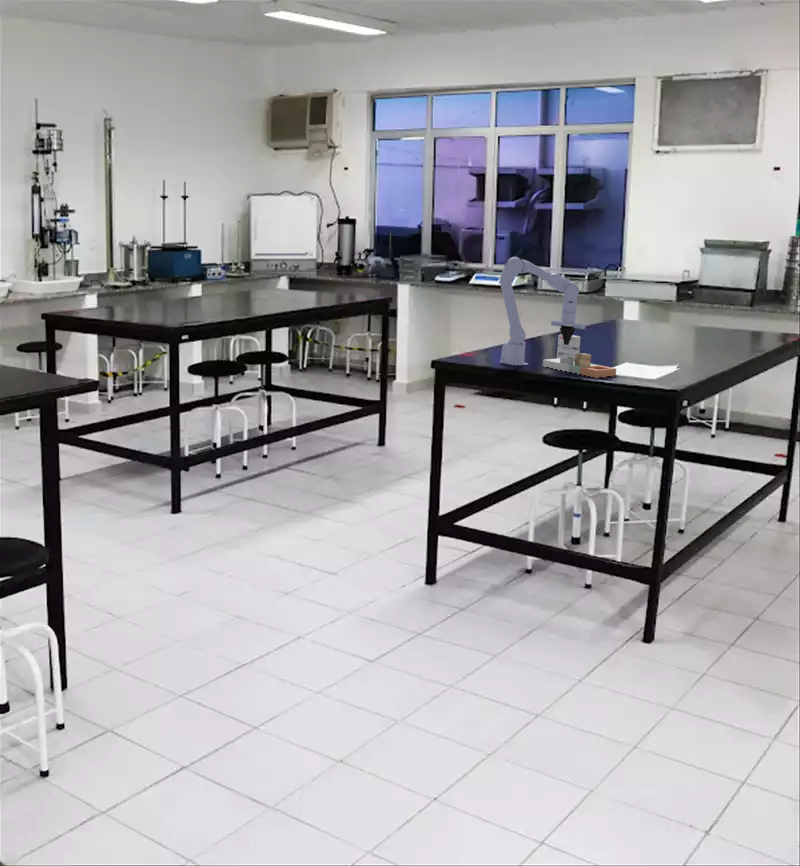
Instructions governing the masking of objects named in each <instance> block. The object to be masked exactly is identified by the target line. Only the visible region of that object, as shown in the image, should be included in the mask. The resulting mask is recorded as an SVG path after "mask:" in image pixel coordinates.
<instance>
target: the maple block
mask: <svg viewBox="0 0 800 866" xmlns="http://www.w3.org/2000/svg"><path fill="white" fill-rule="evenodd" d="M591 361H592V354H589V353H585V352H584V353H583V352H582V353H581V352H579V353H575V363H574V365H578V366H590V363H591ZM591 364H592V363H591Z"/></svg>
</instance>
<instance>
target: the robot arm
mask: <svg viewBox="0 0 800 866" xmlns="http://www.w3.org/2000/svg"><path fill="white" fill-rule="evenodd" d="M521 272H522V273H531V274H533V275H535V276H537V277H539V278H541V279H543V280H545V281H546V284H547V285H548V286H549V287H551V288H553V289H554V290H556V291H558V292H560V293H563V300H562V309H561V320H551V321H550V326H555V327H560V328H559V331H560V333H561V334H562V336H563V341H564V345H569V342H570V339H571V337H572V335H573V334H574V332H575V331H576V329H578V330H579V329H580V330H585V329H586V323H581V322H580V323H579V322H576V319H577V307H578V295H579V293H580V288H579V286H578V284H576V283H575V282H573V281H571V279H569V278H566V277H563V276H562V275H561V273H559V272H557V273H556V272H552V273H550V272H548V271H546V270H544V269H543V268H541V267H539V266H537V265H535V264H534V263H532V262H530V261H529V260H525V259H521V258H519V257H518V256H512V257H510V258H508V260H507V261H506V262H505V263H504V266H503V269H502V271H501V273H500V276H499V284H500V288H501V293H502V296H503V301H504V307H505V310H506V314H507V318H508V324H509V333H508V334H509V337H510V338H509V340H508V341H505V342H504V343H503V344H502V347H501V355H500V360H499V363H501V364H504V365H505V364H506V365H511V366H514V365H515V366H516V367H518V366H526V365H528V366H529V363H528V362H525V353H526V341H525V340H526V336H527V335H526V331H525V330H524V328H523V327H522V323H521V319H520V315H519V311H518V306H517V303H516V298H515V293H514V288H513V285H512V282H513V280H514V279H515V277H516V276H517V275H519V273H521ZM517 365H518V366H517Z"/></svg>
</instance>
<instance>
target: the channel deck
mask: <svg viewBox="0 0 800 866" xmlns="http://www.w3.org/2000/svg"><path fill="white" fill-rule="evenodd" d="M574 363H575V356H574V358H573V359H568V358H557V357H556V358H550V359H549V358H547V359H546V358H545V359H543V360H542V367H543V366H544V367H543V368H545V367H549V368H548V369H550V368H553V369H552V370H555V369H557V370H556V371H560V370H562V371H561V372H565V371H567V372H566V373H569V372H572V373H571V374H574V373H577V374H576V375H579V374H582V375H581V376H584V375H586V376H585V377H588V376H590V378H593V377H594V379H600V378H599V377H602V378H608V377H607V376H611V377H615V376H614V375H616V376H617V368H615V367H610V366H606V365H600V364H594V363H590V366H578V365H574Z"/></svg>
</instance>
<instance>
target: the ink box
mask: <svg viewBox="0 0 800 866" xmlns="http://www.w3.org/2000/svg"><path fill="white" fill-rule="evenodd" d="M581 338H582V337H581V336H579V335H572V337H571V339H570V342H569V345H564V341H563V336H562V333H561V334H558V338H557V349H556V350H557V351H556V359H557V358H568V359H573V358H574V356H575V353H580V350H581V349H580V347H581Z"/></svg>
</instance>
